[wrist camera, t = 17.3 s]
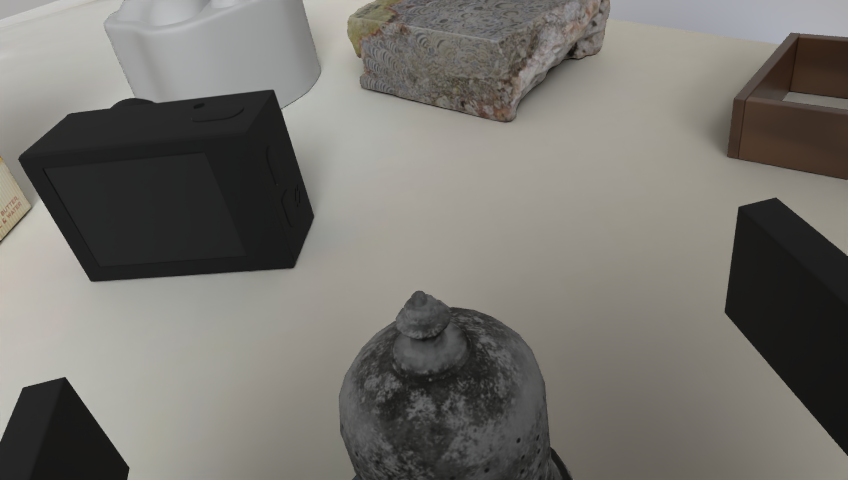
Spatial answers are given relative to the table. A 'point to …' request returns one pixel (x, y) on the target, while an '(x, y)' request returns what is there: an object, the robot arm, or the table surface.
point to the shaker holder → (795, 108)
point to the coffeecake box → (10, 201)
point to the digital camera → (174, 186)
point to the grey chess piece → (447, 401)
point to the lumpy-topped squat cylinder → (214, 48)
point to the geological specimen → (472, 48)
